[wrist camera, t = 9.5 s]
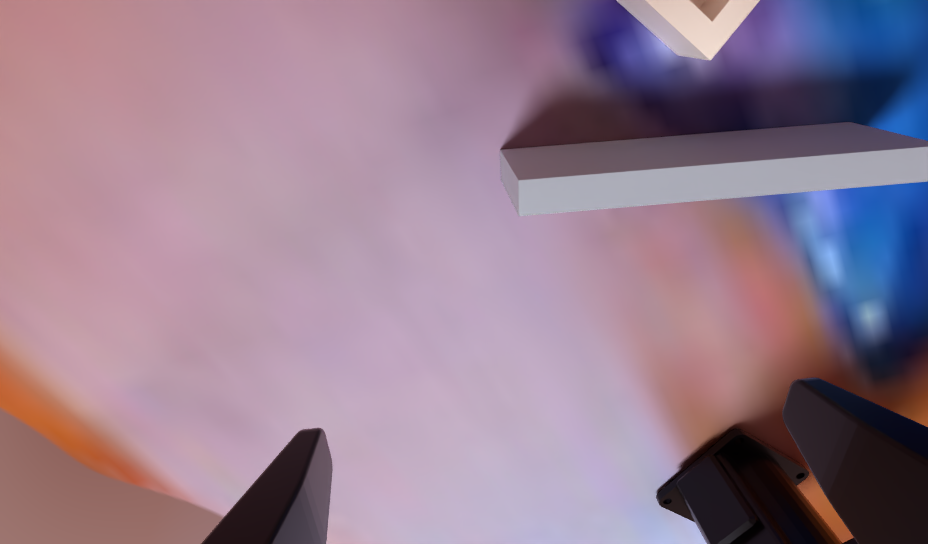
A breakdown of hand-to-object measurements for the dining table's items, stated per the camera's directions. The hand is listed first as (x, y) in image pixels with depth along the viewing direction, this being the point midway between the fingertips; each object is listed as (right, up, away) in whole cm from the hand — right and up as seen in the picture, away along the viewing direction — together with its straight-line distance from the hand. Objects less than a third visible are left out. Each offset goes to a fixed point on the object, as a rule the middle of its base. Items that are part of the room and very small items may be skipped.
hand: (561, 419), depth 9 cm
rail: (+7, +8, +10) cm, 14 cm away
